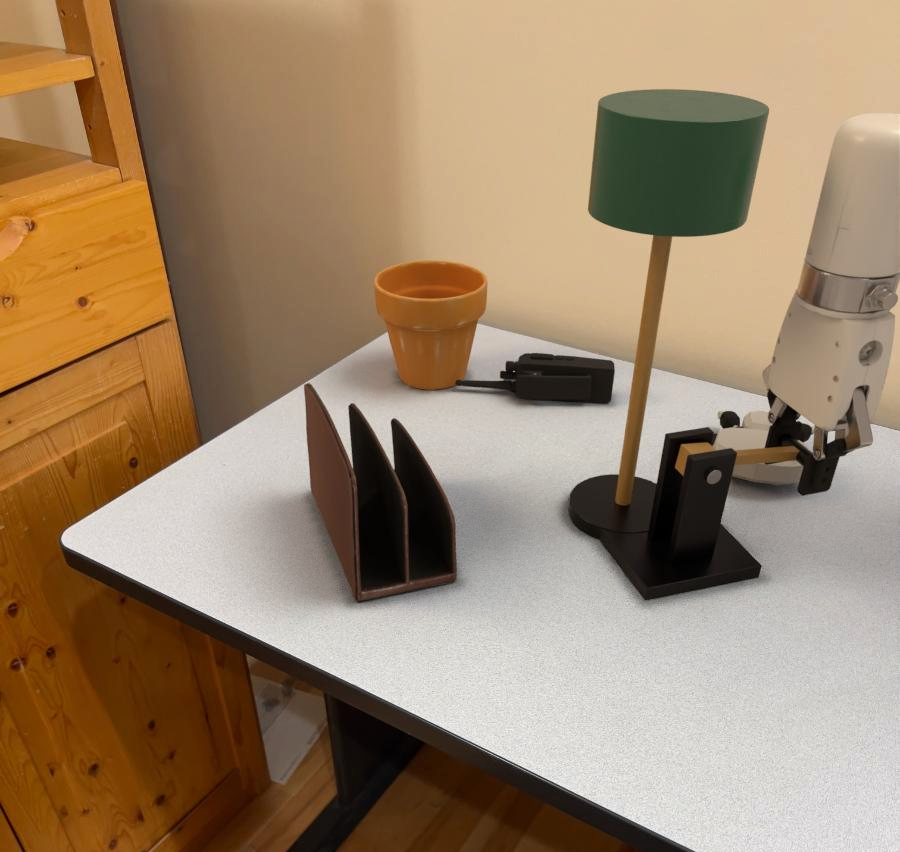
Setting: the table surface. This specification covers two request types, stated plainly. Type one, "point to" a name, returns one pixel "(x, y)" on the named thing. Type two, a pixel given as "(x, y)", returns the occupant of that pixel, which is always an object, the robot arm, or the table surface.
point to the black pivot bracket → (685, 527)
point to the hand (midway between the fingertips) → (794, 474)
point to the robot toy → (756, 447)
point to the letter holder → (379, 506)
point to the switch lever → (751, 453)
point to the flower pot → (431, 318)
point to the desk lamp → (662, 235)
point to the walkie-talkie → (554, 378)
